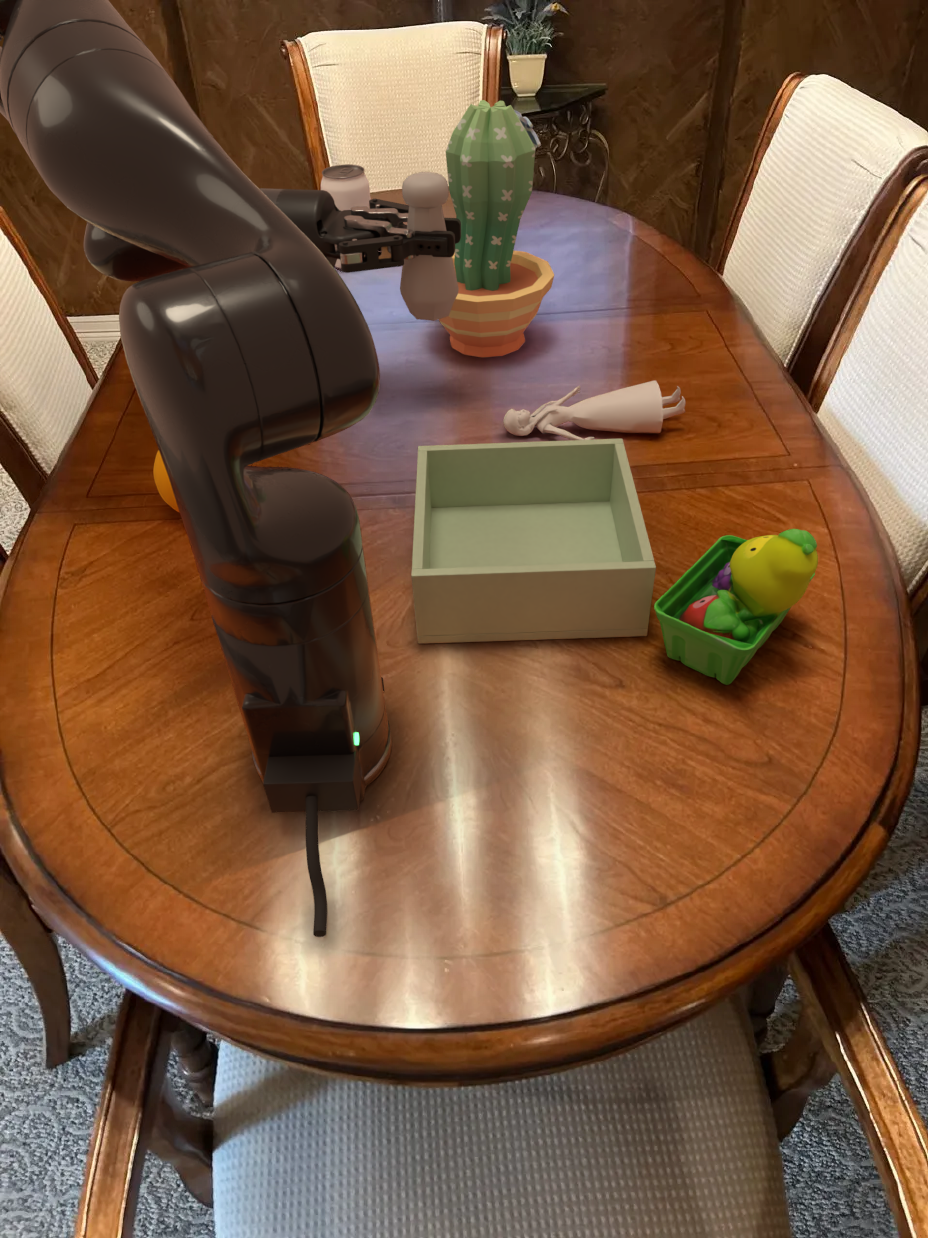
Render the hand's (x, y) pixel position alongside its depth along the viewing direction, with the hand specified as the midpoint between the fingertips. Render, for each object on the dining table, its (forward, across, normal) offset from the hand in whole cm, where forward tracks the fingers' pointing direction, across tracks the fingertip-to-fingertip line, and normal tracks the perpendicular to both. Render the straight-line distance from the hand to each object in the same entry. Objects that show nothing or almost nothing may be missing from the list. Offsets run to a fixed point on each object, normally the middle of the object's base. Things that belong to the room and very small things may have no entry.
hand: (456, 237), depth 87 cm
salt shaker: (-3, 0, +8) cm, 8 cm away
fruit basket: (+26, -36, +17) cm, 47 cm away
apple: (-20, -22, +18) cm, 35 cm away
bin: (+10, -28, +17) cm, 34 cm away
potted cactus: (+1, +14, +17) cm, 22 cm away
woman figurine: (+14, -5, +17) cm, 23 cm away
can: (-21, +37, +17) cm, 45 cm away
